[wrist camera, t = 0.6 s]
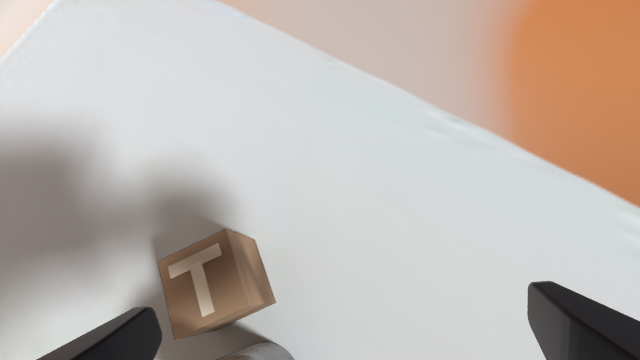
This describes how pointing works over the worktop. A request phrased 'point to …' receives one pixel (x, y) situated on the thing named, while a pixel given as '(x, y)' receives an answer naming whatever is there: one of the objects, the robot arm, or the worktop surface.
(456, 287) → the worktop surface
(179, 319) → the letter cube
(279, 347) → the tin
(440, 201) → the worktop surface
